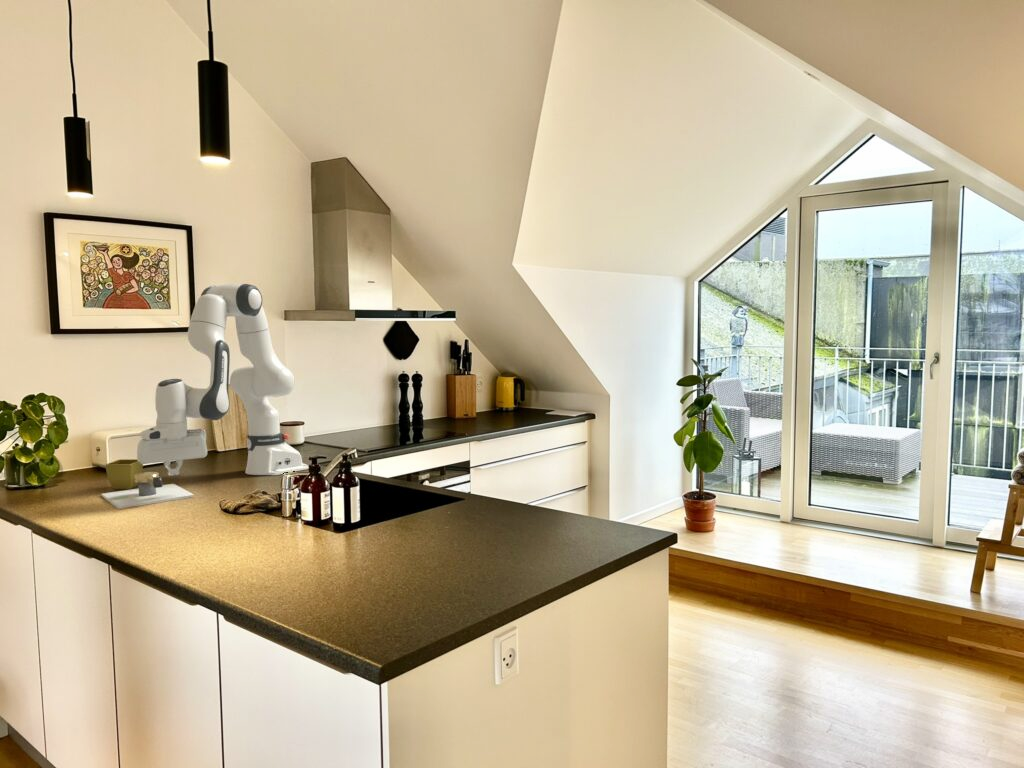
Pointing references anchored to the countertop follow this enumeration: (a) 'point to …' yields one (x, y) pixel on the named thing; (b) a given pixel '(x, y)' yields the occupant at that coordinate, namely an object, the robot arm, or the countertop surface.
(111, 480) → the flower pot
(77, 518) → the countertop surface
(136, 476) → the locking lever
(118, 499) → the base
